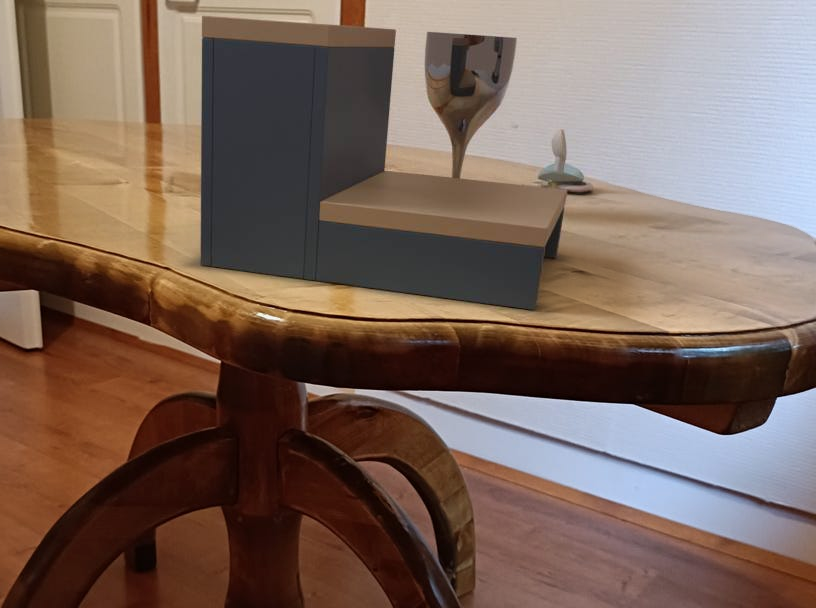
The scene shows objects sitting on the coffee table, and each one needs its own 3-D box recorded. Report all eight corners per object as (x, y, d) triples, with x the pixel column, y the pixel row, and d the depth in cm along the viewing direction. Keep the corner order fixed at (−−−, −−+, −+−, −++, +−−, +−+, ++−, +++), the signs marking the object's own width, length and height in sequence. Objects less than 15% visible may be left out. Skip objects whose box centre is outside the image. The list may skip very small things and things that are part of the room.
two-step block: (556, 256, 73) (590, 43, 67) (534, 310, 58) (576, 41, 52) (284, 223, 78) (292, 22, 72) (200, 265, 63) (201, 15, 57)
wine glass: (494, 219, 86) (518, 37, 80) (406, 211, 87) (423, 31, 81) (495, 205, 93) (516, 38, 87) (413, 198, 94) (429, 32, 88)
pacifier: (594, 189, 109) (541, 182, 111) (606, 132, 107) (552, 125, 108) (588, 198, 103) (533, 190, 104) (601, 137, 100) (543, 130, 102)
